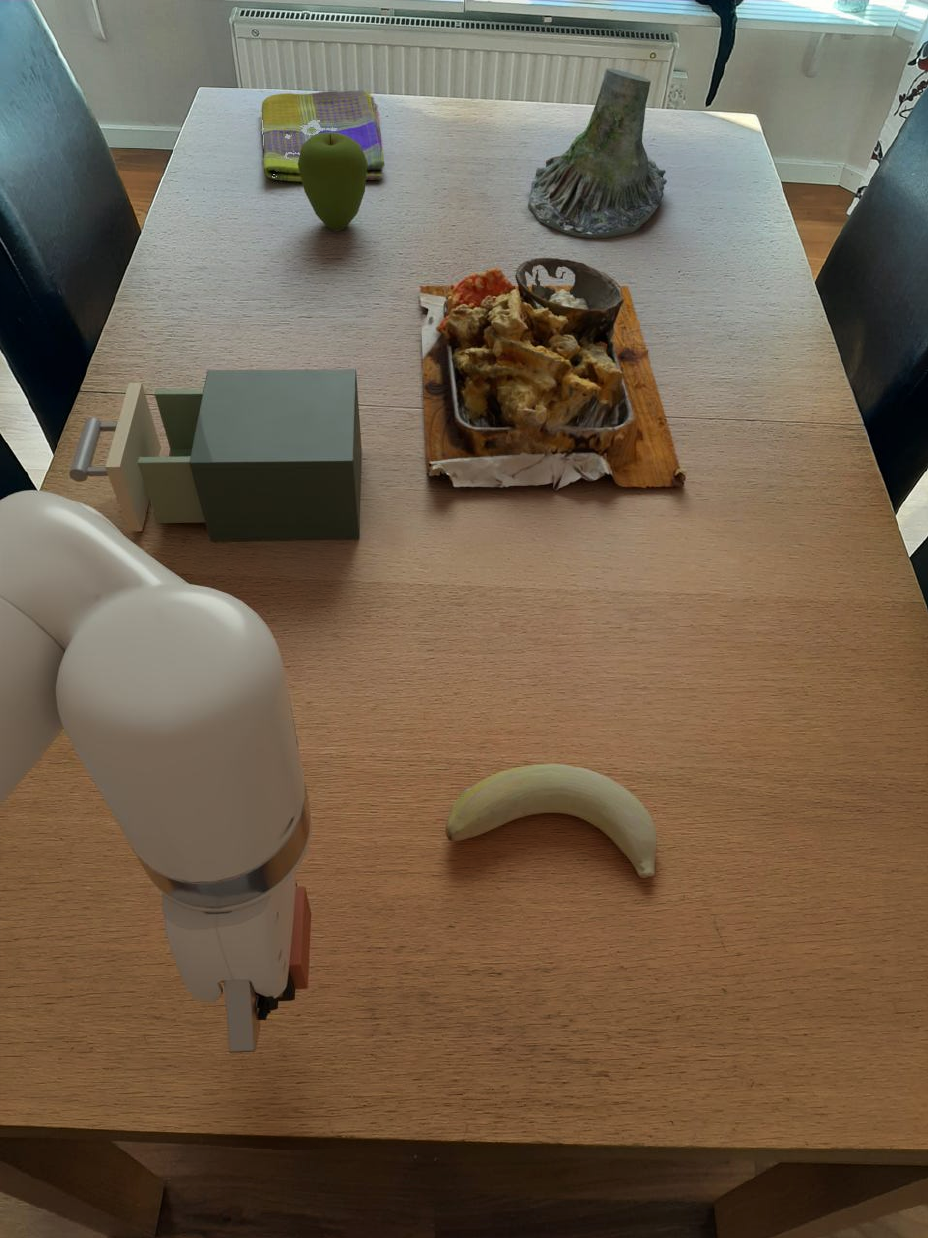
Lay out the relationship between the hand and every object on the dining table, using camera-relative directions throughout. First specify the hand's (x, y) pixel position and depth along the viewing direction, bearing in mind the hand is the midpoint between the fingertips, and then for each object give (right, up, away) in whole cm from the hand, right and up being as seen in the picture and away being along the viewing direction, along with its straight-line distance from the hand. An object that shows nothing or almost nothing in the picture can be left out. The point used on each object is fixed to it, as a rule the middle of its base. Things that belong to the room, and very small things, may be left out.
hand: (270, 949), depth 54 cm
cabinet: (-5, +32, +33) cm, 46 cm away
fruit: (+18, +4, +13) cm, 22 cm away
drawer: (-15, +32, +32) cm, 48 cm away
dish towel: (-9, +89, +78) cm, 119 cm away
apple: (-5, +71, +65) cm, 96 cm away
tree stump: (+29, +77, +71) cm, 109 cm away
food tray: (+20, +46, +46) cm, 67 cm away
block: (0, 0, 0) cm, 0 cm away
